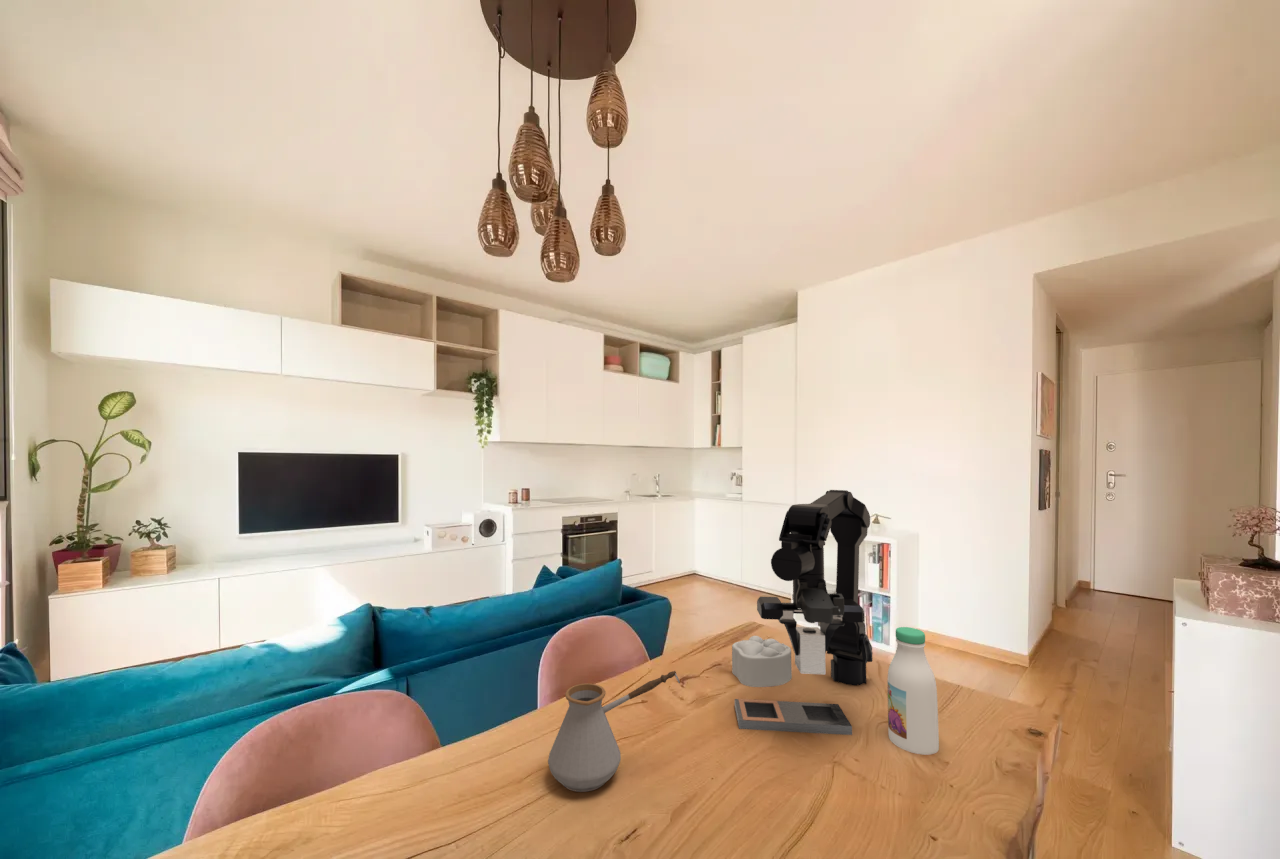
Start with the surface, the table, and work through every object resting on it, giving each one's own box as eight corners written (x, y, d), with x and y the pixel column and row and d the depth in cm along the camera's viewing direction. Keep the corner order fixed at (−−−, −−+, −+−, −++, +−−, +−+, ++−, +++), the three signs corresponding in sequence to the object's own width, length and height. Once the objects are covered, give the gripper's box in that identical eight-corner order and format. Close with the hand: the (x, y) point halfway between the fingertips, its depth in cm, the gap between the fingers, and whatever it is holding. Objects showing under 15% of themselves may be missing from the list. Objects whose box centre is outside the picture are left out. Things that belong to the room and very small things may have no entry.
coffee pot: (548, 805, 71) (549, 698, 72) (547, 758, 82) (548, 666, 83) (689, 787, 75) (689, 686, 76) (670, 744, 86) (670, 657, 87)
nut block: (818, 664, 95) (818, 626, 95) (825, 674, 90) (824, 634, 91) (794, 663, 95) (794, 625, 96) (800, 673, 91) (800, 633, 91)
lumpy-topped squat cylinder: (728, 672, 115) (728, 635, 116) (779, 669, 118) (779, 632, 118) (745, 693, 105) (745, 652, 106) (801, 688, 108) (800, 648, 108)
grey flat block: (838, 717, 96) (838, 703, 96) (852, 740, 88) (852, 725, 88) (734, 711, 97) (734, 698, 98) (739, 734, 89) (738, 719, 90)
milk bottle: (936, 741, 88) (932, 627, 89) (942, 765, 81) (938, 641, 82) (887, 731, 91) (885, 620, 92) (889, 753, 84) (886, 634, 85)
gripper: (766, 580, 87) (767, 671, 86) (875, 583, 85) (877, 675, 84) (756, 566, 98) (756, 647, 97) (852, 569, 96) (854, 650, 95)
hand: (809, 655), depth 93 cm, fingers closed on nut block, 4 cm apart
